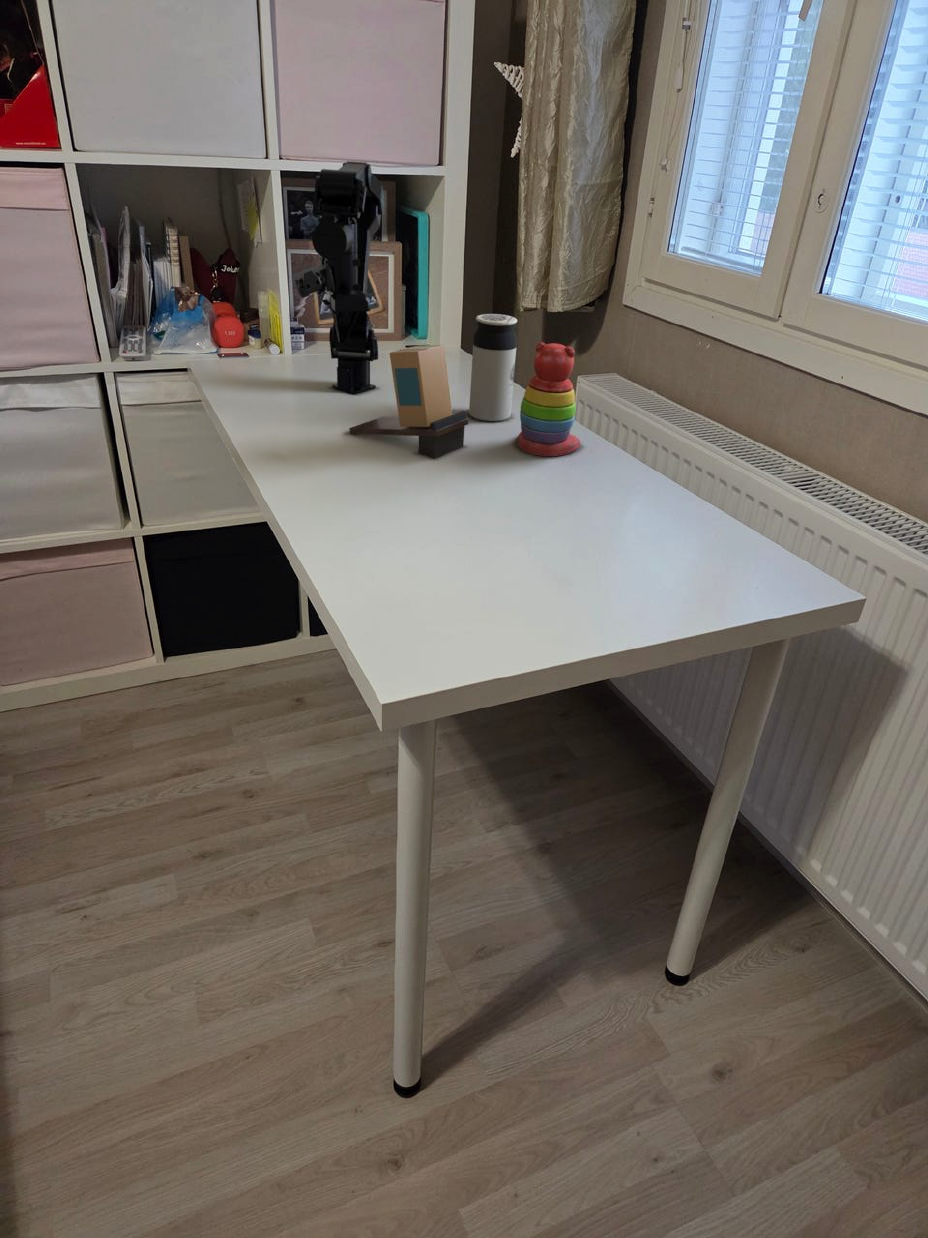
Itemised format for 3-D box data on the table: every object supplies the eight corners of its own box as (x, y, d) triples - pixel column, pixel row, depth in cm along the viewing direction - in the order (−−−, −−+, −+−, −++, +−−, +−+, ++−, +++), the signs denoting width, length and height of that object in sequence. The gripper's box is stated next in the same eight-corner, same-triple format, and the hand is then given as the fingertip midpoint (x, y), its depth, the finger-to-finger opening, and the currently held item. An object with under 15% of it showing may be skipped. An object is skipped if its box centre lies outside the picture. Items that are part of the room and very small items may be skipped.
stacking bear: (582, 444, 151) (596, 342, 142) (564, 461, 143) (577, 354, 134) (526, 433, 154) (536, 332, 145) (505, 449, 146) (514, 344, 137)
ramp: (349, 433, 149) (348, 398, 146) (382, 421, 155) (382, 388, 152) (436, 460, 140) (437, 424, 137) (467, 446, 146) (469, 412, 143)
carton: (388, 422, 144) (388, 344, 137) (413, 413, 149) (415, 337, 142) (427, 434, 140) (429, 354, 133) (452, 424, 145) (456, 346, 138)
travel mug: (462, 417, 160) (468, 318, 151) (477, 406, 167) (484, 311, 157) (502, 424, 158) (510, 324, 149) (515, 413, 164) (524, 317, 155)
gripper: (285, 242, 152) (289, 332, 160) (304, 259, 138) (308, 356, 146) (346, 243, 156) (347, 330, 164) (371, 259, 141) (371, 355, 149)
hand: (342, 342), depth 156 cm, fingers closed
